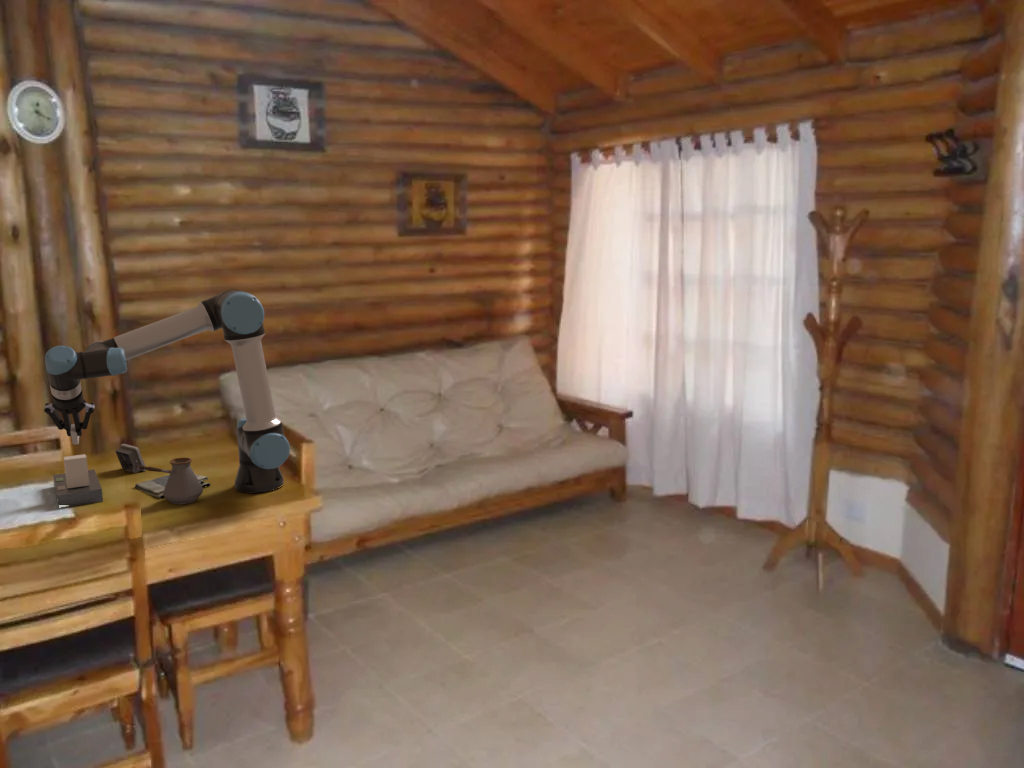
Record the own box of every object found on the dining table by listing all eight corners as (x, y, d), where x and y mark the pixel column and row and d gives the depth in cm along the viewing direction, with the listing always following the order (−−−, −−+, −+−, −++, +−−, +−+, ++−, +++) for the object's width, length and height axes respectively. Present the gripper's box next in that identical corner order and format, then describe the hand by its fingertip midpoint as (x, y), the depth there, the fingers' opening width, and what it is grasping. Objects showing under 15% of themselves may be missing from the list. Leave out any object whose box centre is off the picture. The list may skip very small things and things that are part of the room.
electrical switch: (147, 471, 281) (142, 445, 279) (133, 476, 277) (128, 450, 275) (131, 466, 286) (126, 442, 284) (117, 471, 282) (112, 446, 280)
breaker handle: (89, 485, 252) (86, 457, 250) (67, 488, 249) (64, 460, 247) (88, 481, 255) (85, 454, 254) (66, 484, 252) (63, 457, 250)
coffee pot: (187, 492, 259) (183, 446, 256) (211, 498, 253) (208, 451, 250) (126, 512, 241) (121, 463, 238) (151, 519, 235) (146, 469, 232)
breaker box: (103, 501, 250) (101, 488, 249) (58, 508, 244) (57, 494, 243) (95, 480, 270) (94, 468, 269) (54, 486, 264) (52, 474, 263)
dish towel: (133, 489, 264) (132, 479, 263) (185, 476, 277) (184, 467, 276) (160, 501, 252) (159, 491, 251) (214, 487, 265) (213, 478, 265)
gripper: (38, 401, 222) (49, 451, 239) (91, 401, 227) (99, 450, 243) (41, 380, 226) (52, 431, 243) (93, 380, 231) (101, 430, 248)
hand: (76, 440), depth 243 cm, fingers closed
